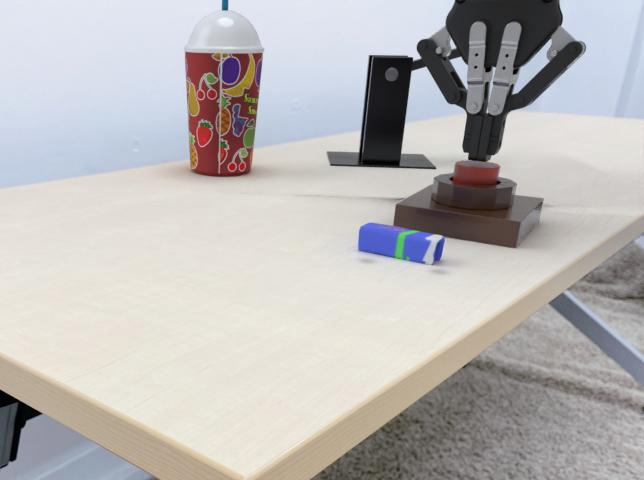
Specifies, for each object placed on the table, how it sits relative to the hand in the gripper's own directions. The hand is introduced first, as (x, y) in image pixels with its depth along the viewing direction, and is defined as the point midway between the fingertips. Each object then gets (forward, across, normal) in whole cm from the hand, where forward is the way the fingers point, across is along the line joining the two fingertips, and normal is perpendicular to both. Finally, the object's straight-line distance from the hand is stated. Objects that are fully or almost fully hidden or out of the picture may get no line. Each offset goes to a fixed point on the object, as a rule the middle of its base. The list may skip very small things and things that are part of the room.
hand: (479, 159), depth 60 cm
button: (+2, 0, 0) cm, 2 cm away
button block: (+6, 0, 0) cm, 6 cm away
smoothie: (+6, +28, -4) cm, 29 cm away
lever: (-6, +11, -23) cm, 27 cm away
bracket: (+6, +16, -21) cm, 27 cm away
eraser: (+6, +2, +12) cm, 14 cm away
